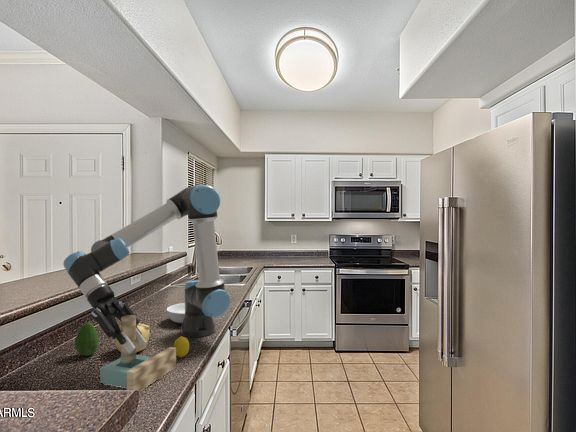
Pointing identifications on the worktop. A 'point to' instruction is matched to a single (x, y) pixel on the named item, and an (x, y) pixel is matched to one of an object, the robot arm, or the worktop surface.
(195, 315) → the robot arm
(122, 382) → the socket block
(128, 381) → the oak wall
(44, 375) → the worktop surface
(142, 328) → the sculpture
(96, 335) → the avocado
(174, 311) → the serving bowl
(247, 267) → the worktop surface
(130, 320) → the dowel
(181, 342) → the lemon
